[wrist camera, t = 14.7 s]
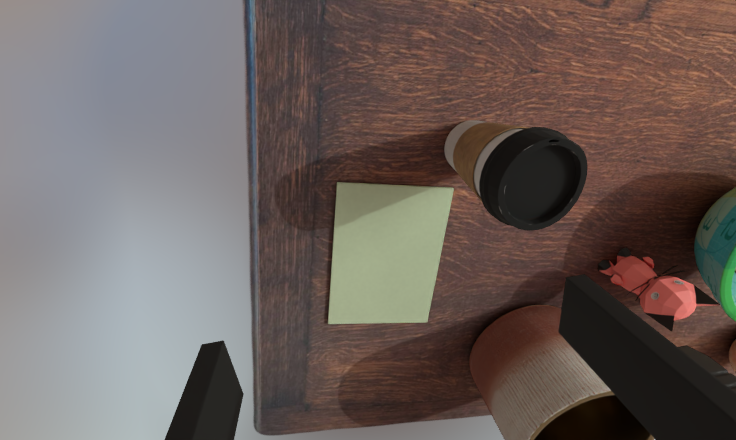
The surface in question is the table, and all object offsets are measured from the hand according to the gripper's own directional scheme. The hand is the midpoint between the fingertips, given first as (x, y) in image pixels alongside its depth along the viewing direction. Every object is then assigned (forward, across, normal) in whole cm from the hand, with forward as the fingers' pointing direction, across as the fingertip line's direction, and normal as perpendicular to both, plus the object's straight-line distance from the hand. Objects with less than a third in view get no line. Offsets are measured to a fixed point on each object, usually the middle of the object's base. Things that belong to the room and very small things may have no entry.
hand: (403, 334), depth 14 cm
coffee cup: (+29, +14, -1) cm, 32 cm away
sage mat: (+29, +4, -14) cm, 32 cm away
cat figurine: (+29, +37, -22) cm, 51 cm away
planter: (+29, +23, -34) cm, 50 cm away
